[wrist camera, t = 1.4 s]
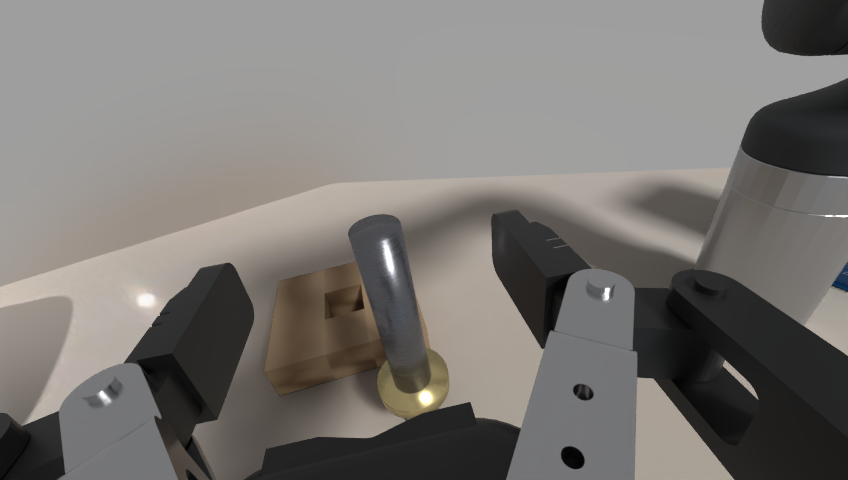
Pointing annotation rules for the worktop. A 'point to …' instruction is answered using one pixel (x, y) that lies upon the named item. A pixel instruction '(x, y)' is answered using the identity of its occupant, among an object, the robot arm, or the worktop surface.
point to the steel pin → (397, 320)
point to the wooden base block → (323, 330)
